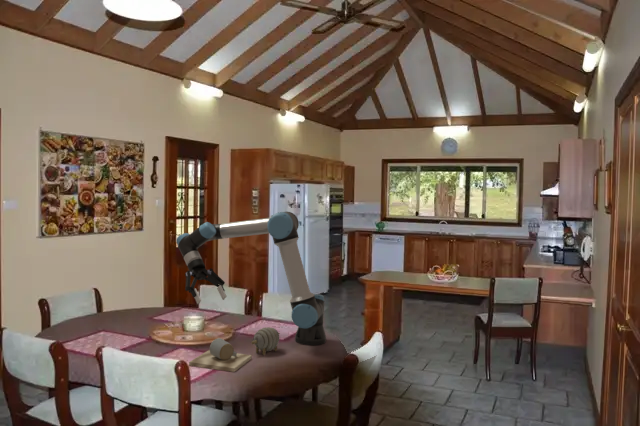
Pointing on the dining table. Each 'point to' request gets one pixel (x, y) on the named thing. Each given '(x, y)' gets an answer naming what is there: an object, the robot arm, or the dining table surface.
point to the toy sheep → (266, 339)
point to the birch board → (220, 362)
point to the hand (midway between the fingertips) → (212, 300)
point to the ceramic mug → (222, 349)
